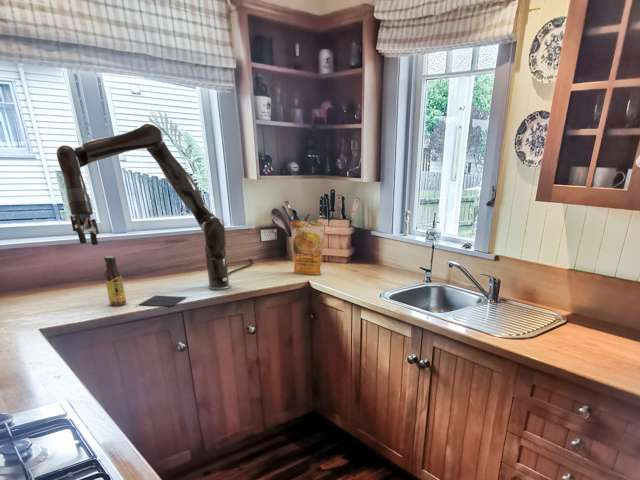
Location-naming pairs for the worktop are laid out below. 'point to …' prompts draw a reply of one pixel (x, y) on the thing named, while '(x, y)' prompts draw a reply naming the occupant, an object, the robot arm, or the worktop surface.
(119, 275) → the sauce bottle
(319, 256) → the pancake mix bag
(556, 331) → the worktop surface
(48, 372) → the worktop surface
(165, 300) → the mat
